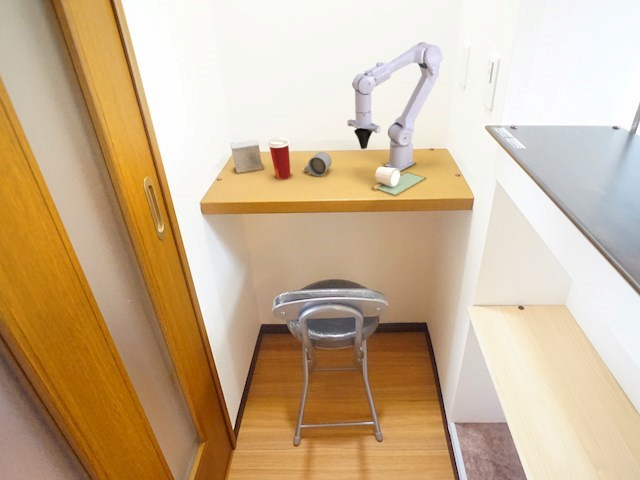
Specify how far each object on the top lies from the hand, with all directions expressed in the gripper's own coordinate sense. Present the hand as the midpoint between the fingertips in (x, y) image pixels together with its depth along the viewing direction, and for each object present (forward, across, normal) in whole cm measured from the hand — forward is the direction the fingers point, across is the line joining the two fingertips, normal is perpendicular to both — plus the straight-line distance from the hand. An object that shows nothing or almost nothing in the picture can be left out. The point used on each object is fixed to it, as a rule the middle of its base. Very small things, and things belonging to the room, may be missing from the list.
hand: (363, 148), depth 151 cm
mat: (+9, +18, 0) cm, 20 cm away
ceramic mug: (+10, -14, -12) cm, 21 cm away
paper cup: (+10, -22, -23) cm, 33 cm away
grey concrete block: (+10, -39, -27) cm, 48 cm away
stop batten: (+9, +14, -4) cm, 17 cm away
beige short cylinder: (+6, +11, -4) cm, 13 cm away
